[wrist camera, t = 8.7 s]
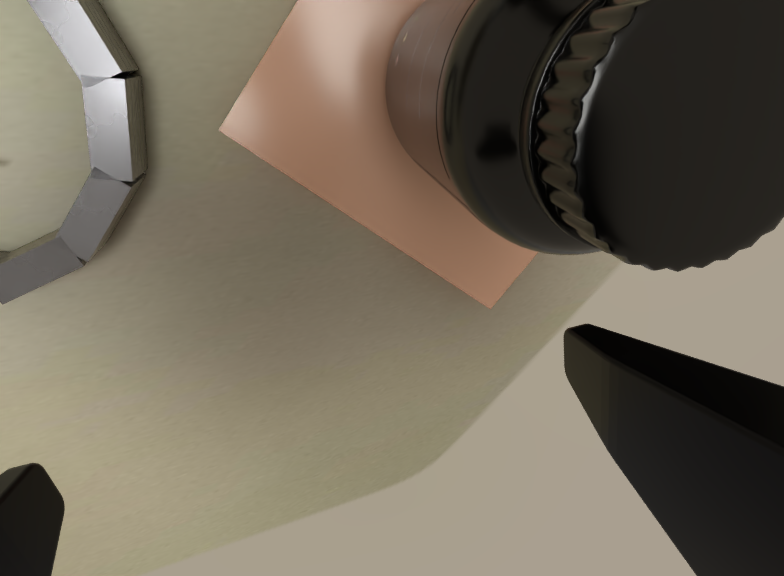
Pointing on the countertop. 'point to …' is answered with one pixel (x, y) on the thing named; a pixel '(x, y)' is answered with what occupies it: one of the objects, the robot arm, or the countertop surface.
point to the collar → (105, 140)
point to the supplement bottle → (600, 121)
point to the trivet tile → (362, 141)
